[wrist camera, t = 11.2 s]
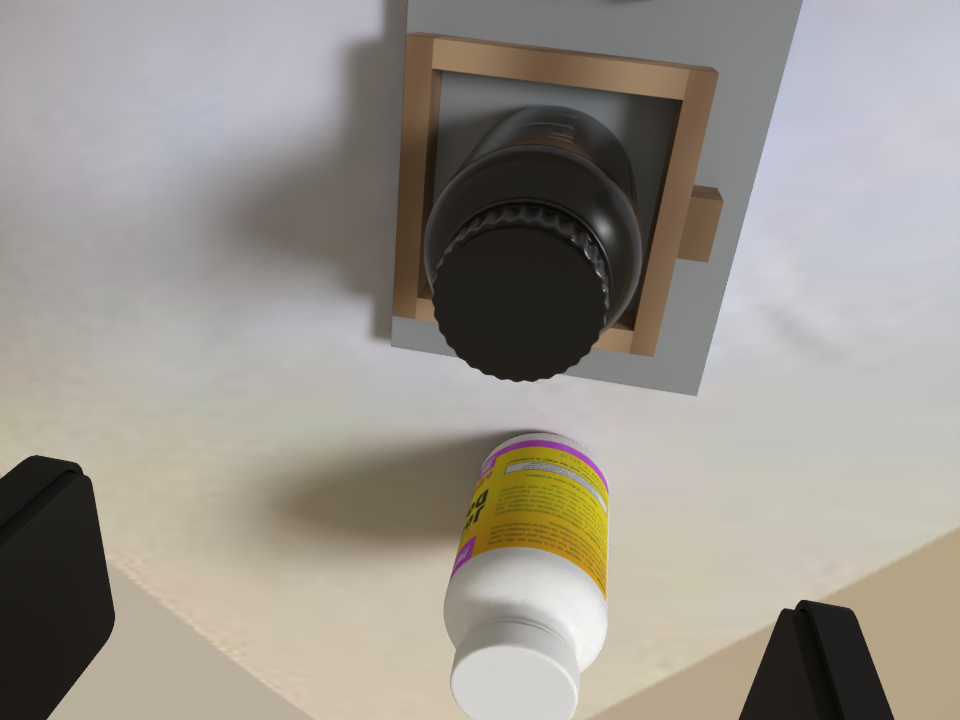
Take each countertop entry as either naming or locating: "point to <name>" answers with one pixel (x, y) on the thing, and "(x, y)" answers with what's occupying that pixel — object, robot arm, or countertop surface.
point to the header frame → (680, 204)
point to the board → (628, 135)
